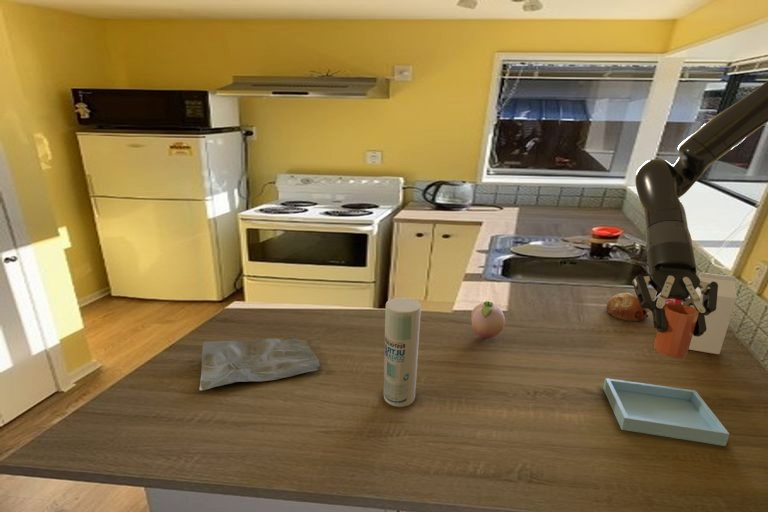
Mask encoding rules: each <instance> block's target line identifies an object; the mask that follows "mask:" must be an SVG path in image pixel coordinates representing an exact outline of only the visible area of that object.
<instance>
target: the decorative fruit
mask: <svg viewBox="0 0 768 512" xmlns="http://www.w3.org/2000/svg"><path fill="white" fill-rule="evenodd" d="M470 313H471V314H470V320H471V326H472V329H473V331H474V332H475V334H477V336H479V337H481V338H482V339H490V338H491V339H492V338H493V337H496V336H497V335H499V334H500V333H502V331H503V330H504V328H505V325H506V318H505V314H504V312H503V309H501V308H500V307H499V306H497V305H495V304H494V303H493V302H492V301H488V300H487V301H484V302H483V303H479V304H477V305H476V306H475V307H473V308H472V311H471V312H470Z"/></svg>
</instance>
